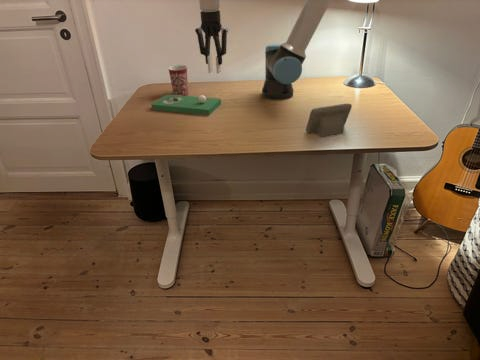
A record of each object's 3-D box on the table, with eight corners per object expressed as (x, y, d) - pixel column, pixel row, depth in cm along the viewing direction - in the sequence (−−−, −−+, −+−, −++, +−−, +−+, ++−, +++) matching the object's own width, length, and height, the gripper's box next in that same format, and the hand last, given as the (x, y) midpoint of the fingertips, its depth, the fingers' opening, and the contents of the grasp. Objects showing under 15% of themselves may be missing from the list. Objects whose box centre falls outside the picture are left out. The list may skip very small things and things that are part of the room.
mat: (221, 104, 160) (221, 98, 159) (209, 115, 149) (208, 109, 148) (167, 99, 169) (166, 94, 167) (152, 109, 158) (151, 104, 156)
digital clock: (344, 125, 136) (347, 99, 130) (352, 135, 128) (356, 108, 122) (303, 128, 135) (304, 102, 129) (308, 138, 127) (311, 111, 121)
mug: (189, 97, 169) (186, 69, 162) (170, 98, 169) (166, 70, 162) (191, 89, 180) (188, 62, 173) (174, 89, 180) (170, 63, 173)
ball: (207, 101, 156) (207, 94, 154) (204, 104, 153) (203, 97, 151) (200, 101, 157) (199, 93, 155) (197, 104, 154) (196, 96, 152)
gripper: (233, 8, 133) (235, 70, 146) (195, 8, 138) (201, 68, 151) (226, 11, 128) (229, 75, 140) (186, 11, 132) (193, 73, 145)
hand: (214, 72), depth 146 cm, fingers open, 3 cm apart
